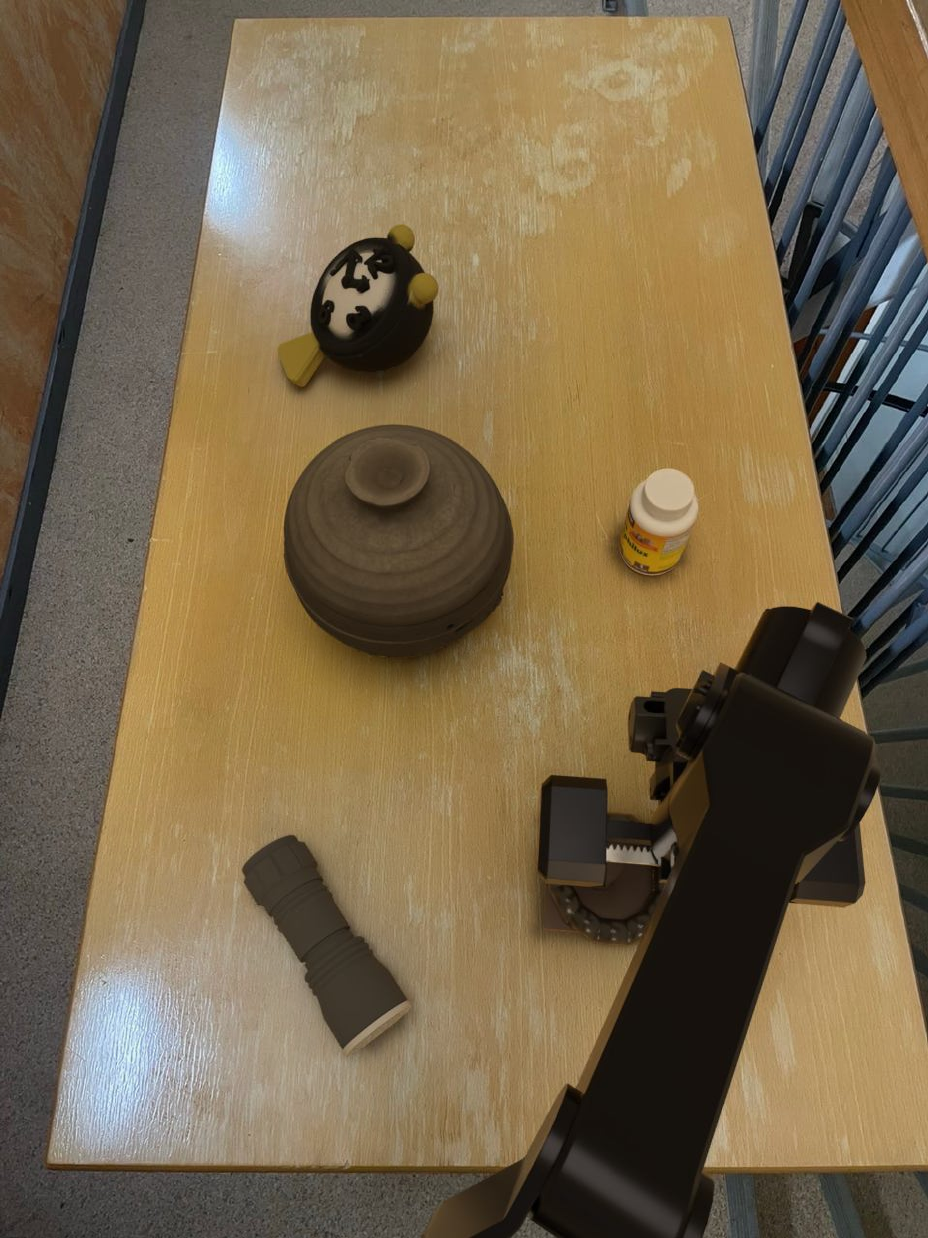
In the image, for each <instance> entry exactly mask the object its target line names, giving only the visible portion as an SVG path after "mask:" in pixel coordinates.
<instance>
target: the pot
mask: <svg viewBox="0 0 928 1238" xmlns="http://www.w3.org/2000/svg"><path fill="white" fill-rule="evenodd" d="M283 520H284V521H283V537H284V539H283V558H284V559H283V561H284V568H285V570H286V574H287V576H288V579H289V582H290V585H291V586H292V588H293V589H294V592H295V594H296V597H297V598H298V601H299V602H300V604H301V606H302V608H304V610H305V612H306V614H307V615H308V616H309V617H310V619H311V620H312V621H313V622H314V623H315V624H316V625H317V626H318V627H319V628H321V630H323V631H324V632H326V633H327V634H328V635H329V636H332V637H333V638H334V639H336V640H338V642H340V643H342V644H344V645H345V646H347V647H350V648H352V649H354V650H355V651H357V652H361V653H365V654H367V655H369V656H376V657H384V658H388V659H400V658H414V657H418V656H423V655H427V654H429V653H432V652H435V651H439V650H441V649H442V648H447V647H448V646H451V645H452V644H454V643H457V642H458V641H460V640H461V639H464V637H466V636H467V635H468V634H470V633H471V632H473V631H474V630H475V629H477V628H479V627H480V626H481V625H482V624H484V623H486V621H487V620H488V619H489V618H490V616H491V615H492V614H493V613H494V612H495V611H496V608H497V607H499V606H500V605H501V603H502V601H503V597H504V590H505V589H504V588H505V586H506V583H507V581H508V579H509V575H510V571H511V565H512V560H513V559H512V558H513V555H514V554H513V553H514V544H515V539H514V537H515V536H514V529H513V524H512V519H511V515H510V512H509V509H508V506H507V503H506V501H505V499H504V498H503V496H502V494H501V491H500V489H499V488H498V485H497V483H496V482H495V480H494V478H493V476H492V475H491V474H490V472H488V470H487V469H486V468H485V466H484V465H483V464H482V463H481V462H480V461H479V460H478V459H477V458H476V457H475V456H474V455H473V454H472V453H471V452H470V451H468V450H467V449H466V448H465V447H463V446H462V445H460V444H459V443H458V442H456V441H454V440H452V439H451V438H449V437H447V436H445V435H443V434H441V433H438V432H436V431H434V430H430V429H426V428H423V427H420V426H419V427H418V426H415V425H410V424H409V425H407V424H395V423H394V424H379V425H373V426H369V427H364V428H361V429H357V430H355V431H352V432H350V433H347V434H345V435H343V436H341V437H339V438H337V439H336V440H334V441H332V442H331V443H330V444H328V445H327V446H326V447H324V448H323V449H322V450H320V452H318V453H317V454H316V455H315V456H314V457H313V458H312V459H311V460H310V461H309V463H308V464H307V465H306V467H304V469H303V470H302V472H301V473H300V474H299V476H298V478H297V479H296V482H295V484H294V486H293V487H292V490H291V492H290V495H289V498H288V500H287V505H286V508H285V513H284V519H283Z"/></svg>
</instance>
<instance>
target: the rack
mask: <svg viewBox="0 0 928 1238" xmlns="http://www.w3.org/2000/svg"><path fill="white" fill-rule="evenodd" d="M611 844H613V847H614V849H616V846H617V845H619V846H620V849H621V850H622V848H623V846H624V845H626V847H627V850H629V848H630V846H633V849H634V851H635V850H636V848H637V845H635V844H623V843H610V842H608V849H609V847H610V845H611ZM640 850H641V851H642V850H643V849H641V848H640ZM574 888H575V890H576V892H577V894H578V896H579V898H580V900H581V901H582V903H583V905H584V906H586V907H587V908H589V909H590V910H592V911H593V912H594V913H596V914H597V915H599V916H600V917H602V918H612V919H626V918H628V917H630V916H632V915H634V914H636V913H638V912H640V911H642V910H643V909H644V907H645V906H646V904H647V902H648V901H649V899H650V897H651V896H652V894H653V892H654V881H653V867H652V866H651V865H639V864H626V863H614V862H608V873H607V879H606V885H605V888H598V887H585V886H574ZM543 899H544V900H543V918H542V919H543V922H542V930H543V931H550V932H559V933H560V932H561V933H572V934H580V933H579V932H578V931H576V930H575V929H574V928H572V927H571V926H569V925H568V924H567V923H565V921H564V920H563V918H562V916H561V914H560V912H559V910H558V908H557V906H556V904H555V902H554V900H553V898H552V896H551V894H550V892H549V889H548V883H544V897H543Z"/></svg>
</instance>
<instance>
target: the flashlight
mask: <svg viewBox="0 0 928 1238" xmlns="http://www.w3.org/2000/svg"><path fill="white" fill-rule="evenodd" d="M318 865H319V864H318V861H317V859H316V858H315V857H314V855H313V854H312V852H311V851H310V849H309V848H308V845H307V844H306V843H305V842H304V841H299V839H298V838H297V836H296V835H294V834H289V835H284V836H282V837H280V838H277V839H275V840H272V841H271V842H269V843H268V844H266V845H264V846H263V847H262V848H260V849H259V850H258V851H256V852H255V853H254V854H253V855H251V856H250V857H249V859H247V861H246V862H245V863H244V864H243V866H242V868H241V873H242V874H243V876H244V880H243V884H244V885H245V887H246V889H247V891H248V892H249V894H250V896H251V897H252V899H253V900H254V902H255V904H256V905H257V906H258V907H259V906H260V907H263V909H264V911H265V912H266V914H267V915H268V917H271V918H273V924H274V925H275V926H277V931H278V932H280V933H281V934H282V935H283V937H284V938H285V940H286V941H287V943H288V945H289V946H290V948H291V950H292V951H293V952H294V954H295V956H296V958H297V959H298V961H299V963H304V967H305V970H306V973H305V974H304V982H305V983H307V984H308V985H307V986H308V989H310V990H311V991H312V992H311V993H312V995H313V996H316V999H317V1001H318V1005H319V1009H320V1011H321V1014H322V1017H323V1020H324V1022H325V1024H326V1025H327V1026H328V1028H329V1030H330V1032H331V1033H332V1035H333V1036H334V1038H335V1040H336V1042H337V1043H338V1045H339V1047H340V1048H341V1050H342V1052H343V1053H344V1055H345V1056H346V1057H349V1056H351V1055H352V1054H355V1053H356V1052H357V1051H359V1050H361V1049H362V1048H364V1047H365V1046H367V1045H368V1044H370V1043H371V1042H372V1041H374V1040H375V1039H376V1038H377V1037H379V1036H380V1035H381V1034H383V1033H384V1032H386V1031H387V1030H388V1029H389V1028H391V1027H392V1026H393V1025H394V1024H396V1022H398V1021H399V1020H400V1019H402V1018H403V1016H405V1015H406V1014H407V1013H408V1012H409V1011H410V1010H411V1008H412V1004H411V1002H410V1001H409V999H408V998H407V996H406V995H405V993H404V992H403V990H402V988H401V987H400V986H399V984H398V982H397V981H396V979H395V978H394V976H393V974H392V973H391V971H390V970H389V969H388V968H387V967H386V966H385V964H383V963H382V962H381V961H379V960H378V958H376V957H375V956H374V952H373V950H372V948H370V944H368V943H367V942H366V939H365V937H364V936H362V935H357V936H355V935H354V933H353V932H352V931H350V929H351V926H350V924H349V922H348V921H347V919H346V917H345V916H344V914H343V913H342V911H341V909H340V908H339V906H338V905H337V904H336V902H335V900H334V899H333V893H332V892H331V891H329V887H328V885H326V884H324V883H323V882H324V878H323V877H322V875H321V874H320V872H319V870H318V867H319V866H318Z"/></svg>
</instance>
